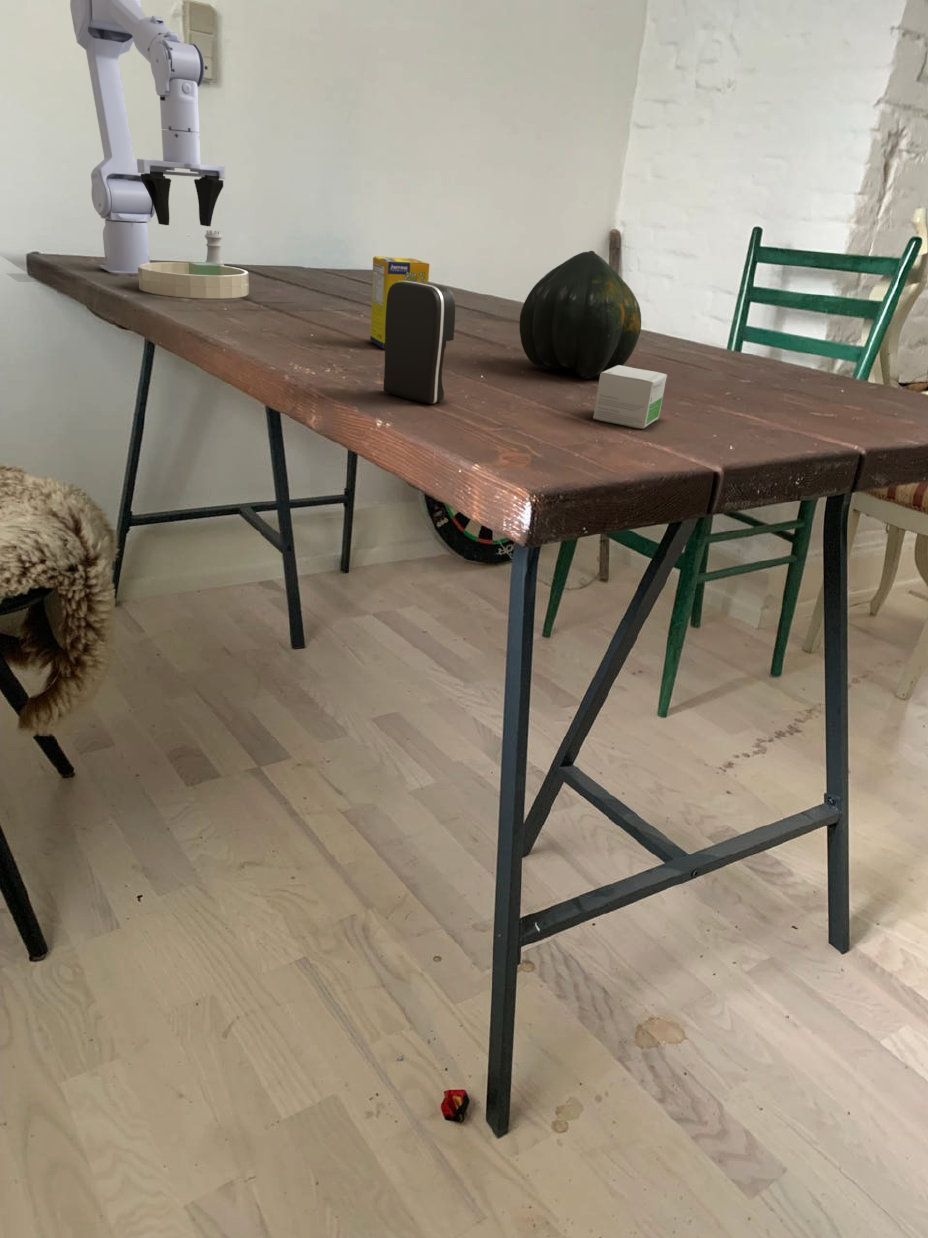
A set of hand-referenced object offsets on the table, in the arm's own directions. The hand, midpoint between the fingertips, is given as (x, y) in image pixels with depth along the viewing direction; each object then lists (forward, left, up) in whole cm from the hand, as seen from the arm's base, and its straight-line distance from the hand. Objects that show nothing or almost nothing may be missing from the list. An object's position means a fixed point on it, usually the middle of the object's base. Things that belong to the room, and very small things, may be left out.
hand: (185, 225), depth 148 cm
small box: (+92, +16, -10) cm, 94 cm away
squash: (+70, +27, -10) cm, 75 cm away
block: (+3, +2, -10) cm, 10 cm away
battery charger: (+78, -1, -10) cm, 79 cm away
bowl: (+5, 0, -10) cm, 11 cm away
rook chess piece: (-19, +12, -10) cm, 25 cm away
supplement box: (+51, +12, -10) cm, 53 cm away
